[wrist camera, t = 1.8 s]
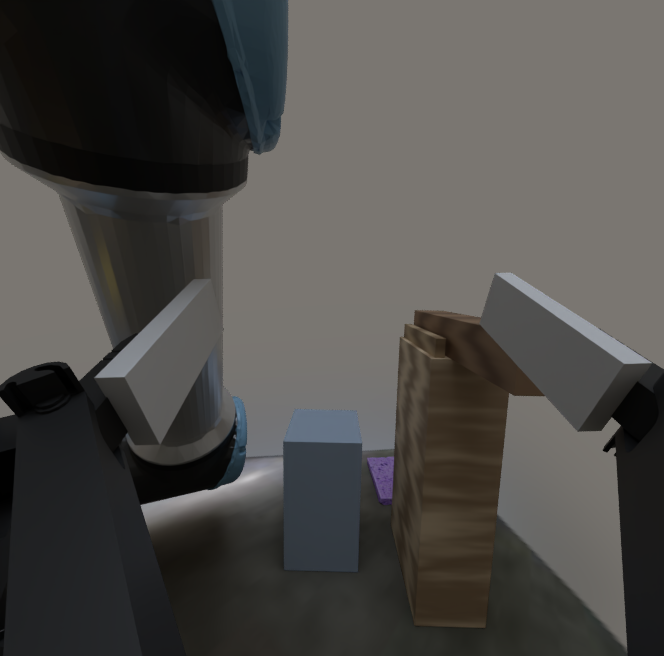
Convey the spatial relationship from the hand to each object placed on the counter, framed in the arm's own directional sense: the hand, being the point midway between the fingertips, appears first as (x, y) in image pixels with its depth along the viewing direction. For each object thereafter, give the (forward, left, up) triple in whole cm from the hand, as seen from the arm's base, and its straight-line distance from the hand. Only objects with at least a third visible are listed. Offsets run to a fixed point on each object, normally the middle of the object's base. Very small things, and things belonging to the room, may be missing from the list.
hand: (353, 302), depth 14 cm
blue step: (-21, +15, -37) cm, 45 cm away
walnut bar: (-4, +20, -6) cm, 21 cm away
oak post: (-8, +23, -37) cm, 45 cm away
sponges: (-23, +33, -38) cm, 55 cm away
